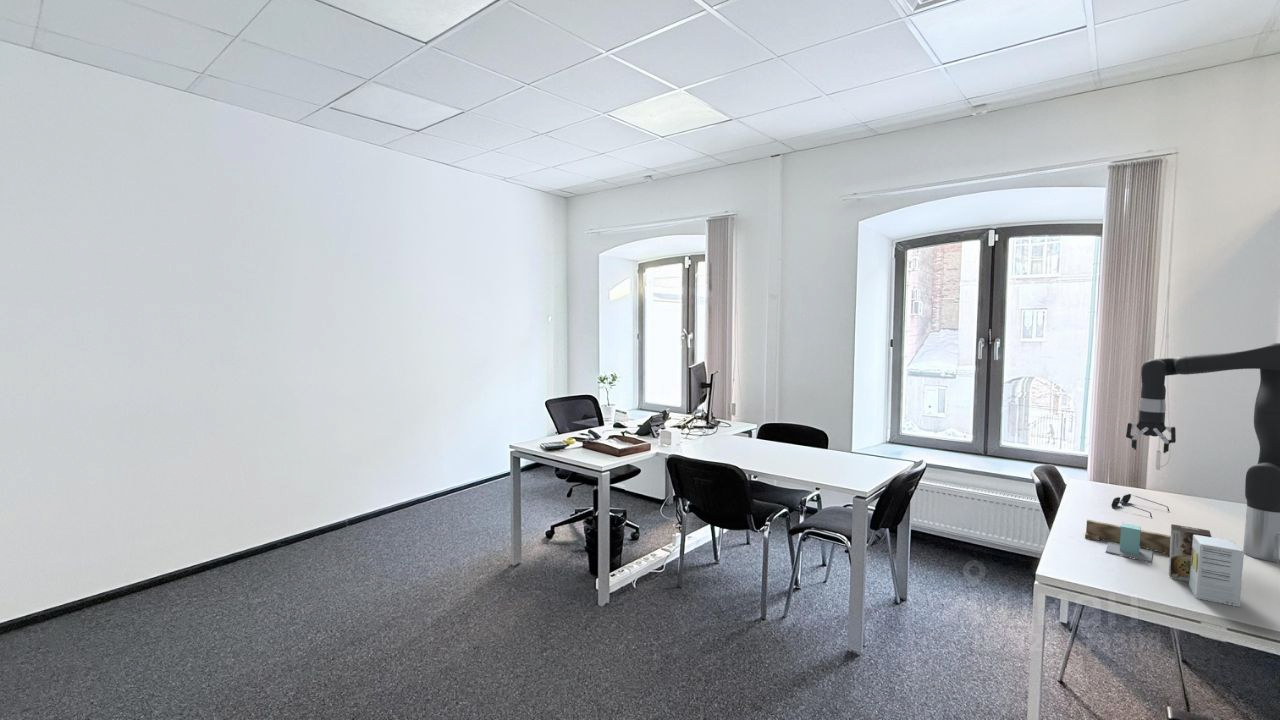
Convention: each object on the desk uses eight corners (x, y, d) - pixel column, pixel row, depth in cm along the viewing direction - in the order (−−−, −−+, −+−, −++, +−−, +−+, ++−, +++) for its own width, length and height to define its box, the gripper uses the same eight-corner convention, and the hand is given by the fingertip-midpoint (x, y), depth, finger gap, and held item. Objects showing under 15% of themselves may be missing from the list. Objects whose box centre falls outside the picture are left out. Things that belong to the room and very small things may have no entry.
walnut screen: (1180, 551, 198) (1181, 535, 198) (1180, 558, 192) (1181, 541, 192) (1087, 532, 216) (1088, 517, 216) (1084, 538, 211) (1085, 522, 210)
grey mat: (1152, 552, 197) (1152, 551, 197) (1151, 562, 189) (1151, 561, 189) (1108, 543, 206) (1108, 541, 206) (1105, 552, 197) (1105, 550, 197)
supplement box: (1188, 586, 172) (1191, 533, 171) (1230, 594, 166) (1234, 540, 165) (1195, 598, 164) (1199, 543, 163) (1240, 608, 159) (1245, 551, 158)
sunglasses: (1127, 503, 254) (1130, 493, 253) (1168, 517, 241) (1171, 506, 241) (1109, 508, 246) (1111, 498, 245) (1150, 523, 233) (1153, 512, 233)
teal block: (1139, 551, 197) (1140, 526, 197) (1138, 555, 194) (1140, 530, 193) (1120, 547, 201) (1122, 522, 200) (1119, 550, 197) (1121, 526, 197)
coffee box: (1207, 579, 177) (1210, 530, 176) (1209, 586, 172) (1212, 535, 171) (1167, 570, 183) (1171, 523, 182) (1168, 577, 178) (1172, 528, 177)
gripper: (1177, 411, 213) (1174, 452, 214) (1128, 407, 223) (1126, 446, 224) (1177, 413, 208) (1174, 455, 209) (1127, 409, 217) (1124, 449, 219)
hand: (1149, 451), depth 216 cm, fingers open, 8 cm apart
